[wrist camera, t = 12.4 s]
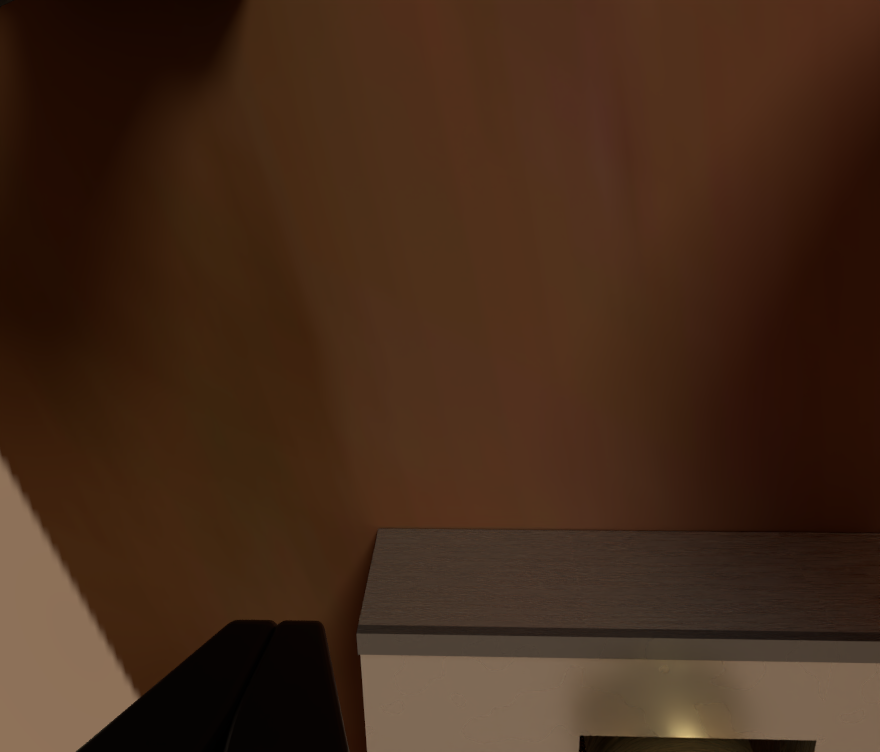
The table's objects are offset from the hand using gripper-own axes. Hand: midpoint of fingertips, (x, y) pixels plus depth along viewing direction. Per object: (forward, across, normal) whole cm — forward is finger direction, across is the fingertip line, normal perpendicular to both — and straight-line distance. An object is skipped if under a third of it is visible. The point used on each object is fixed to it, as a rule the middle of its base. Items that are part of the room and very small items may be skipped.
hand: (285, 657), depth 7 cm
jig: (+13, -7, +13) cm, 20 cm away
